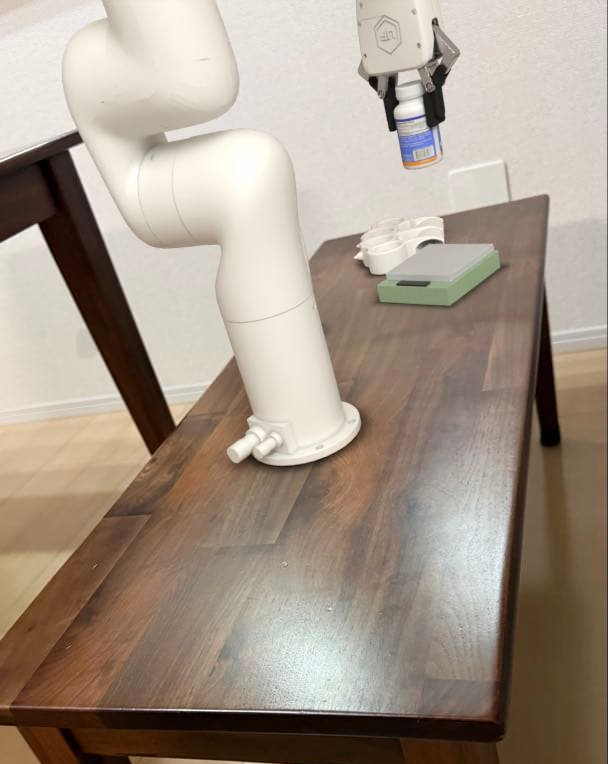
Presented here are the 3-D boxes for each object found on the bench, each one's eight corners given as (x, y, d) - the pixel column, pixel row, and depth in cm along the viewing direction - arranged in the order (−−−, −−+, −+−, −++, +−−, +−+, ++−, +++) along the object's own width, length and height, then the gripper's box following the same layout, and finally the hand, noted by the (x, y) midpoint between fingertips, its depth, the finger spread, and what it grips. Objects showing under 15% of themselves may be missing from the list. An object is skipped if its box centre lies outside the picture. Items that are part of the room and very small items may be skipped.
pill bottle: (417, 158, 115) (404, 80, 109) (451, 155, 111) (439, 74, 106) (395, 172, 112) (380, 92, 106) (429, 169, 108) (416, 86, 103)
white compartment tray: (446, 261, 127) (352, 281, 131) (444, 226, 142) (359, 245, 145) (443, 239, 125) (347, 260, 129) (441, 206, 140) (355, 225, 143)
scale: (449, 305, 113) (445, 280, 111) (379, 302, 121) (374, 278, 119) (500, 267, 120) (497, 243, 118) (431, 266, 127) (427, 243, 125)
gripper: (316, -17, 102) (349, 141, 112) (432, -49, 91) (457, 129, 101) (353, -30, 106) (382, 123, 116) (469, -62, 95) (490, 110, 105)
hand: (417, 124), depth 109 cm, fingers closed on pill bottle, 5 cm apart
